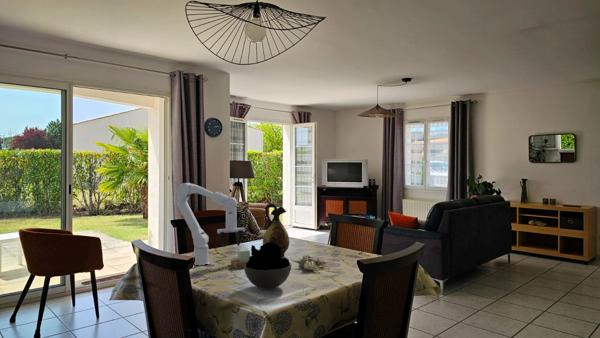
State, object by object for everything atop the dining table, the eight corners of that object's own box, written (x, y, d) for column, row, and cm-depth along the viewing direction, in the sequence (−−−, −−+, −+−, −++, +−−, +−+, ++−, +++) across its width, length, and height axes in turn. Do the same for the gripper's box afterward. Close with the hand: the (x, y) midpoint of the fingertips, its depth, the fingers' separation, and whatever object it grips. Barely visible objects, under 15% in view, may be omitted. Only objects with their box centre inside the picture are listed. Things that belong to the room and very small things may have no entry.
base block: (230, 264, 213) (230, 258, 213) (250, 262, 217) (250, 256, 217) (236, 269, 203) (236, 263, 203) (257, 266, 208) (257, 260, 208)
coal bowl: (291, 280, 181) (291, 239, 181) (291, 295, 161) (291, 248, 161) (246, 281, 181) (246, 239, 181) (241, 296, 161) (241, 249, 161)
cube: (237, 259, 211) (237, 249, 211) (247, 258, 213) (247, 248, 213) (240, 261, 207) (240, 251, 207) (250, 260, 209) (249, 250, 209)
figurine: (326, 254, 212) (335, 262, 196) (326, 265, 212) (334, 274, 196) (289, 253, 208) (295, 261, 192) (288, 265, 208) (294, 274, 192)
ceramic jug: (291, 252, 240) (290, 202, 239) (287, 258, 224) (287, 205, 224) (262, 252, 241) (262, 202, 241) (257, 258, 226) (257, 204, 226)
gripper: (219, 222, 208) (219, 248, 208) (246, 220, 214) (246, 246, 214) (216, 220, 214) (216, 246, 214) (242, 218, 220) (242, 243, 220)
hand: (231, 246), depth 215 cm, fingers open, 7 cm apart
